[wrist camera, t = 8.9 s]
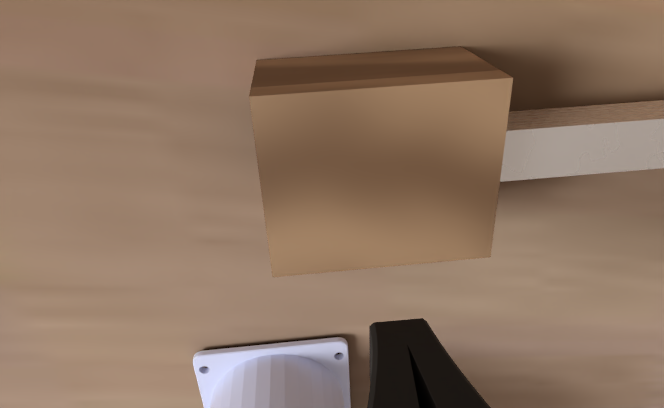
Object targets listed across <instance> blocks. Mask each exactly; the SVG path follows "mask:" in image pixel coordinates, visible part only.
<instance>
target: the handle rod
mask: <svg viewBox="0 0 664 408" xmlns="http://www.w3.org/2000/svg"><path fill="white" fill-rule="evenodd" d="M659 168H664V100H657V101H644V102H631V103H618V104H604V105H591V106H578V107H565V108H551V109H538V110H525V111H512V112H509V115H508V123H507V130H506V138H505V146H504V154H503V162H502V169H501V177H500V182H503V181H515V180H527V179H539V178H551V177H563V176H575V175H587V174H599V173H611V172H623V171H635V170H647V169H659Z"/></svg>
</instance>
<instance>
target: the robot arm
mask: <svg viewBox="0 0 664 408" xmlns="http://www.w3.org/2000/svg"><path fill="white" fill-rule="evenodd" d="M336 353H341V354H336ZM193 366H194V370H195V374H196V378H197V382H198V386H199V389H200V393H201V397H202V401H203V405H204V408H351V403H350V380H349V356H348V344H347V341H346V340H345V339H344V338H342V337H335V338H325V339H315V340H305V341H295V342H285V343H275V344H265V345H255V346H245V347H235V348H225V349H215V350H205V351H199V352H197V353H196V354H195V355H194V358H193ZM203 366H206V367H207V368H203ZM370 382H371V384H370V394H369V401H368V407H367V408H490V406H489V405H488V404H487V403H486V402H485V401H484V399H483V398H482V397H481V396H480V395H479V393H478V392H477V391H476V390H475V388H474V387H473V386H472V385H471V383H470V382H469V381H468V380H467V378H466V377H465V376H464V375H463V373H462V372H461V371H460V369H459V368H458V367H457V365H456V364H455V363H454V361H453V360H452V359H451V357H450V356H449V354H448V353H447V352H446V350H445V349H444V347H443V346H442V345H441V343H440V342H439V340H438V339H437V337H436V336H435V334H434V333H433V331H432V329H431V328H430V326H429V325H428V323H427V321H425V320H424V319H423V318H422V319H410V320H399V321H387V322H376V323H373V324H372V325H371V326H370Z"/></svg>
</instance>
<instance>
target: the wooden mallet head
mask: <svg viewBox="0 0 664 408" xmlns="http://www.w3.org/2000/svg"><path fill="white" fill-rule="evenodd" d="M512 84H513V77H511V76H509V75H508V74H506V73H504V72H503V71H501V70H499V69H498V68H496V67H494V66H493V65H491V64H489V63H488V62H486V61H484V60H483V59H481V58H479V57H478V56H476V55H474V54H473V53H471V52H469V51H468V50H466V49H464V48H463V47H461V46H460V47H445V48H430V49H416V50H401V51H386V52H371V53H356V54H341V55H327V56H312V57H297V58H282V59H267V60H257V61H256V66H255V71H254V75H253V80H252V85H251V90H250V95H249V100H250V108H251V115H252V123H253V131H254V138H255V146H256V154H257V162H258V169H259V177H260V185H261V192H262V200H263V208H264V215H265V223H266V231H267V239H268V246H269V254H270V262H271V269H272V277H281V276H292V275H302V274H313V273H324V272H335V271H346V270H356V269H367V268H378V267H389V266H400V265H411V264H421V263H432V262H443V261H454V260H465V259H475V258H486V257H490V255H491V248H492V240H493V232H494V224H495V216H496V209H497V201H498V193H499V185H500V177H501V169H502V162H503V154H504V146H505V138H506V130H507V123H508V115H509V107H510V99H511V91H512Z"/></svg>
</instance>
